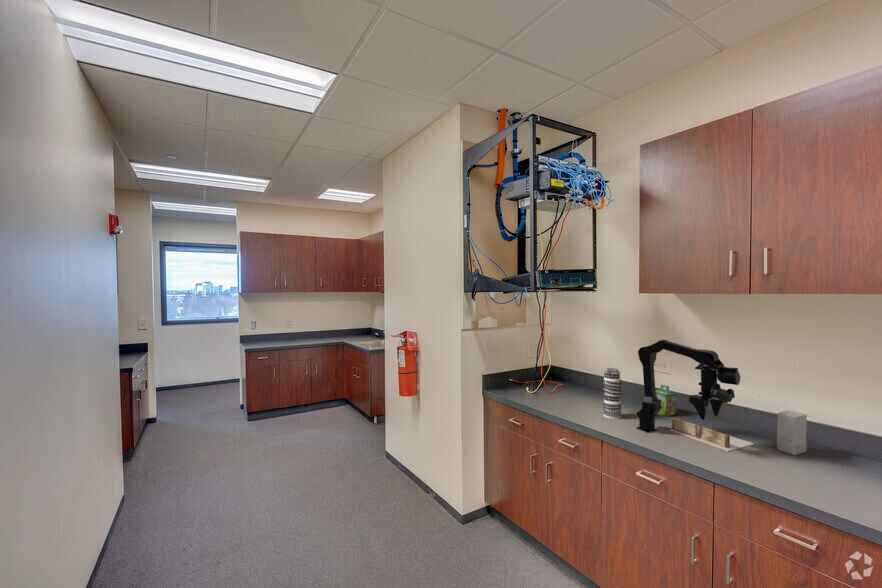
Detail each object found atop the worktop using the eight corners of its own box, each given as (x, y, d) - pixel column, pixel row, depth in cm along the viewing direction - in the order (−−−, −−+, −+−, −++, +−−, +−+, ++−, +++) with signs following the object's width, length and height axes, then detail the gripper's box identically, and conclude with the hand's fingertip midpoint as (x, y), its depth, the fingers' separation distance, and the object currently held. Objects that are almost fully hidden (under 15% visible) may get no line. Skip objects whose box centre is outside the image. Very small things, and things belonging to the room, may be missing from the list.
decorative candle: (625, 418, 202) (625, 370, 201) (609, 419, 200) (609, 371, 200) (615, 413, 211) (615, 366, 210) (599, 414, 209) (599, 367, 209)
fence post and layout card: (728, 451, 160) (728, 437, 160) (668, 429, 186) (668, 417, 185) (754, 444, 167) (754, 431, 167) (693, 424, 192) (693, 413, 192)
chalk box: (650, 412, 212) (650, 384, 212) (661, 409, 216) (661, 382, 216) (666, 417, 204) (666, 388, 203) (677, 414, 207) (677, 386, 207)
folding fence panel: (701, 438, 173) (701, 427, 173) (703, 438, 174) (703, 427, 174) (728, 448, 163) (727, 436, 163) (730, 447, 163) (730, 436, 163)
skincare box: (788, 446, 165) (789, 409, 165) (808, 452, 159) (808, 414, 158) (776, 449, 162) (776, 412, 162) (795, 455, 156) (795, 417, 155)
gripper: (716, 387, 154) (716, 427, 154) (743, 382, 162) (743, 419, 162) (687, 382, 164) (688, 419, 164) (714, 377, 172) (714, 412, 172)
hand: (709, 417), depth 165 cm, fingers open, 9 cm apart
